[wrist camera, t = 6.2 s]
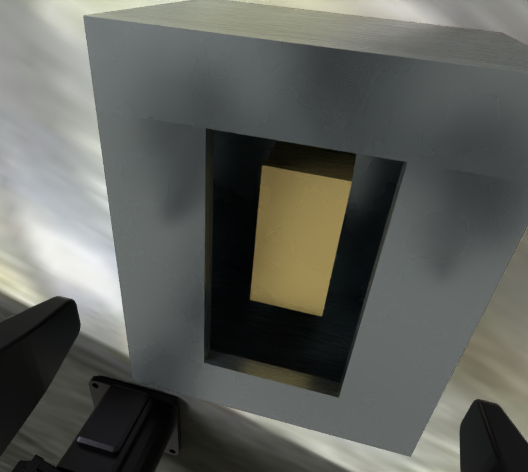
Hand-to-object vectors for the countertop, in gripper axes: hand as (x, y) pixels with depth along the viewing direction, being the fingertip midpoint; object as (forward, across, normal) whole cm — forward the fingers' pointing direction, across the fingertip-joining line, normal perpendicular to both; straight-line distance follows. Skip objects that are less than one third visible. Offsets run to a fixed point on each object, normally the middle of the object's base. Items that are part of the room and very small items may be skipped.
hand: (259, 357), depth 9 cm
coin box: (+10, 0, 0) cm, 10 cm away
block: (+9, 0, 0) cm, 9 cm away
